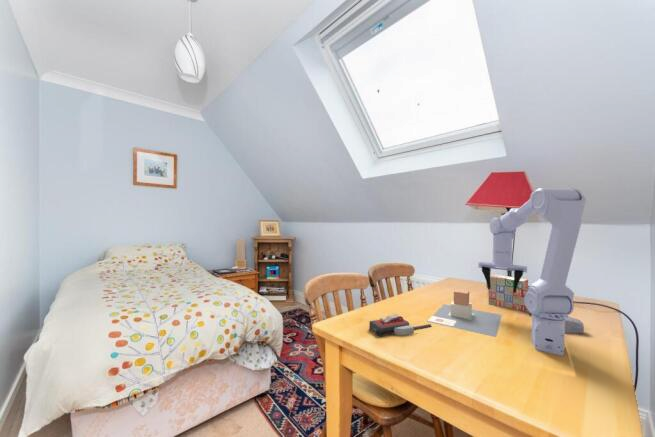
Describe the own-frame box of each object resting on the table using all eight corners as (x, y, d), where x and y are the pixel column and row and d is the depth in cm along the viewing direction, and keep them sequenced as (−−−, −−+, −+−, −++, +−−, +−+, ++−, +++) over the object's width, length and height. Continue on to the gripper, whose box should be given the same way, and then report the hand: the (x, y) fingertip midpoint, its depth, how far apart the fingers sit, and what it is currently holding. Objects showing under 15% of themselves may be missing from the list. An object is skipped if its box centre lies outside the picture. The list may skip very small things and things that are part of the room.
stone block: (553, 338, 88) (588, 334, 87) (549, 322, 89) (585, 319, 87) (533, 325, 100) (563, 322, 98) (529, 312, 100) (560, 308, 99)
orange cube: (467, 306, 98) (467, 293, 98) (453, 303, 100) (453, 291, 100) (469, 303, 101) (469, 291, 101) (456, 300, 104) (456, 289, 104)
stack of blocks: (556, 317, 102) (557, 283, 102) (551, 320, 99) (551, 286, 99) (494, 302, 120) (495, 273, 120) (487, 305, 116) (488, 275, 116)
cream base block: (468, 318, 97) (469, 307, 97) (450, 314, 100) (450, 303, 100) (471, 313, 102) (471, 303, 102) (453, 310, 105) (454, 300, 105)
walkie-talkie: (380, 341, 81) (433, 331, 89) (380, 326, 81) (433, 317, 89) (364, 329, 89) (414, 321, 97) (365, 316, 89) (414, 308, 97)
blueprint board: (496, 339, 82) (496, 336, 82) (426, 324, 93) (426, 321, 93) (501, 317, 101) (501, 314, 101) (443, 306, 113) (443, 304, 113)
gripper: (527, 252, 98) (526, 291, 98) (480, 249, 106) (479, 284, 106) (527, 254, 92) (526, 295, 92) (477, 251, 101) (477, 288, 101)
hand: (501, 290), depth 99 cm, fingers open, 7 cm apart
